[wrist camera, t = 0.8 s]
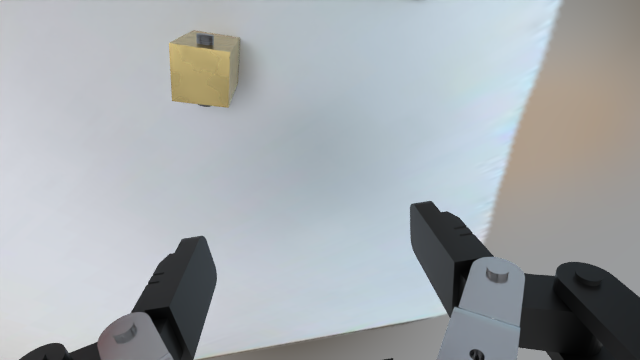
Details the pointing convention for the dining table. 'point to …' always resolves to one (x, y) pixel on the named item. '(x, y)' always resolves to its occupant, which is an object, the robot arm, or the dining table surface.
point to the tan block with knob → (204, 68)
